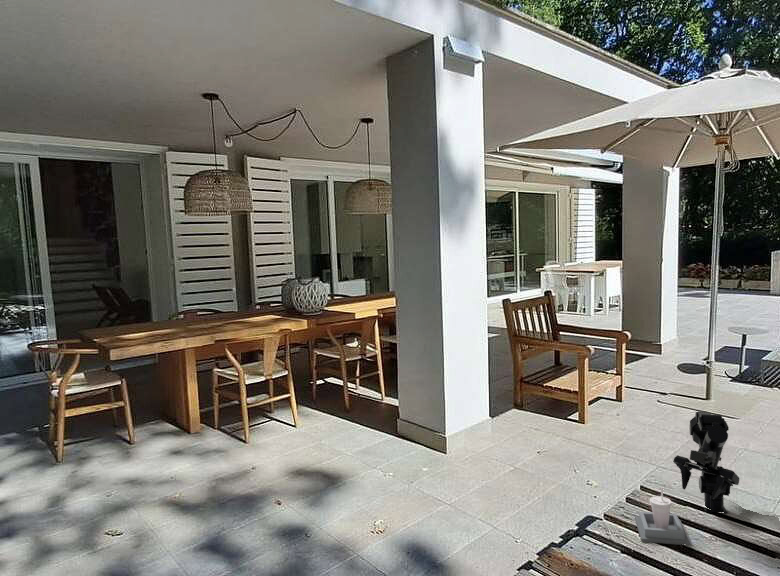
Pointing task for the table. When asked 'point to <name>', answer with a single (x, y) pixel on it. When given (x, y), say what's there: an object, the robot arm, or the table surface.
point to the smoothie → (661, 510)
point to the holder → (661, 530)
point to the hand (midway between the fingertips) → (697, 493)
